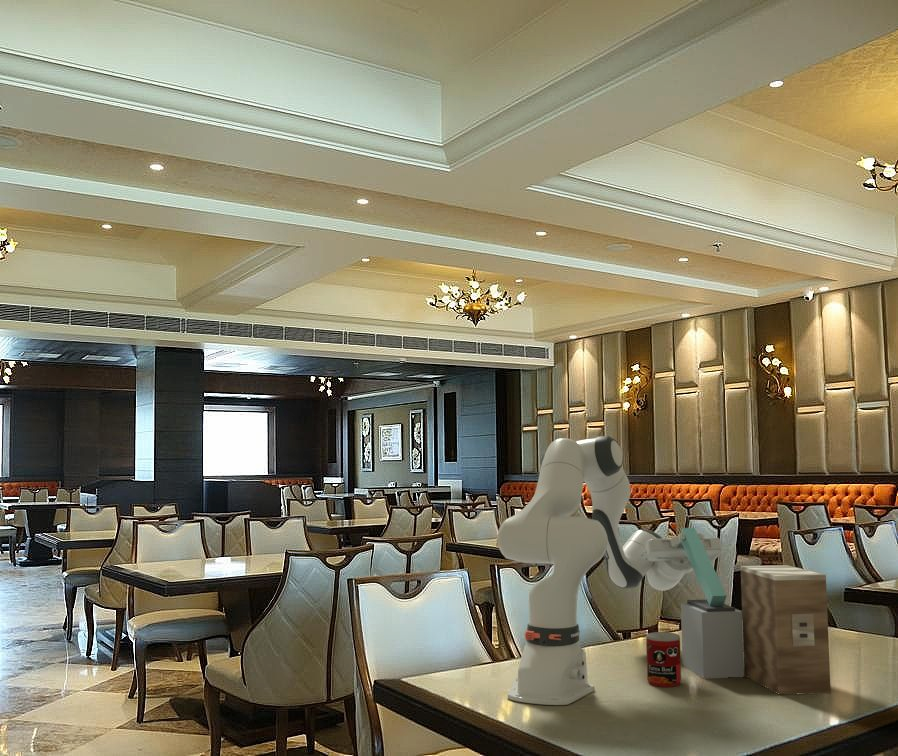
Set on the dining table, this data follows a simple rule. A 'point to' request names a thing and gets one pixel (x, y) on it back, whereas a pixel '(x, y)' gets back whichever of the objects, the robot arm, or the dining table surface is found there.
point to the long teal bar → (703, 568)
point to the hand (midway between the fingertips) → (691, 536)
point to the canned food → (663, 659)
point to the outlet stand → (785, 628)
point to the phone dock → (712, 639)
